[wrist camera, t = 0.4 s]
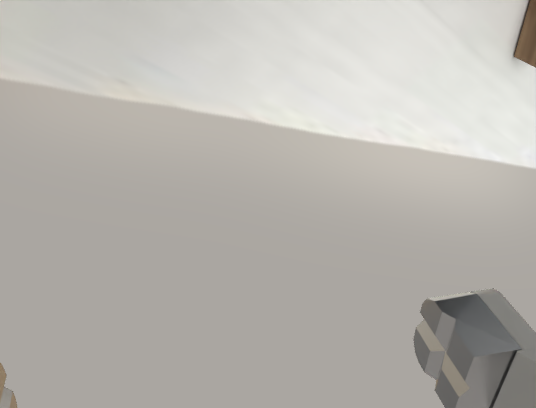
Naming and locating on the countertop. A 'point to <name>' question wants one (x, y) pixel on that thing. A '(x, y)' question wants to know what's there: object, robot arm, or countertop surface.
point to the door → (528, 37)
